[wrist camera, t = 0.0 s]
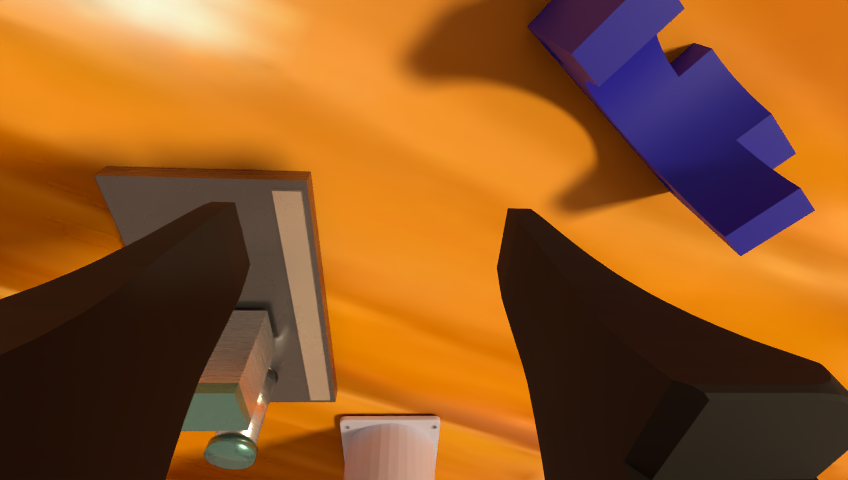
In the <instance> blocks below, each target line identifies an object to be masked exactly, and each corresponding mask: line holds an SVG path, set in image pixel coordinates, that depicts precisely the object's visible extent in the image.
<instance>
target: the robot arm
mask: <svg viewBox="0 0 848 480" xmlns="http://www.w3.org/2000/svg"><path fill="white" fill-rule="evenodd" d="M249 267H250V261H249V257H248V253H247V249H246V245H245V241H244V237H243V233H242V229H241V225H240V221H239V217H238V213H237V209H236V205H235V202H209V203H207V204H204V205H202V206H200V207H198V208H196V209H194V210H192V211H190V212H188V213H187V214H185V215H183V216H181V217H179V218H177V219H176V220H174V221H172V222H170V223H168V224H167V225H165V226H163V227H161V228H159V229H157V230H156V231H154V232H152V233H150V234H148V235H147V236H145V237H143V238H141V239H139V240H137V241H135V242H133V243H131V244H129V245H127V246H125V247H123V248H121V249H119V250H117V251H115V252H114V253H112V254H110V255H108V256H106V257H104V258H102V259H100V260H98V261H95V262H93V263H91V264H89V265H87V266H85V267H82V268H80V269H78V270H76V271H73V272H71V273H68V274H66V275H64V276H61V277H59V278H56V279H54V280H52V281H49V282H47V283H44V284H42V285H39V286H36V287H34V288H31V289H28V290H25V291H22V292H20V293H17V294H14V295H11V296H8V297H6V298H3V299H0V480H165V479H166V476H167V473H168V469H169V466H170V463H171V459H172V456H173V453H174V450H175V447H176V444H177V441H178V438H179V435H180V432H181V429H182V426H183V423H184V420H185V418H186V415H187V412H188V409H189V407H190V404H191V401H192V398H193V396H194V393H195V390H196V388H197V385H198V382H199V380H200V378H201V376H202V373H203V371H204V369H205V367H206V365H207V363H208V361H209V359H210V357H211V355H212V353H213V351H214V349H215V347H216V345H217V343H218V341H219V339H220V337H221V335H222V333H223V331H224V329H225V327H226V325H227V323H228V321H229V319H230V317H231V314H232V312H233V310H234V308H235V306H236V304H237V302H238V300H239V298H240V296H241V293H242V290H243V287H244V284H245V281H246V277H247V274H248V270H249ZM497 272H498V278H499V285H500V291H501V296H502V301H503V304H504V307H505V311H506V314H507V317H508V320H509V324H510V327H511V330H512V333H513V336H514V339H515V343H516V346H517V349H518V352H519V355H520V358H521V362H522V365H523V368H524V372H525V376H526V379H527V383H528V388H529V393H530V398H531V403H532V408H533V413H534V418H535V424H536V429H537V435H538V440H539V446H540V452H541V457H542V464H543V470H544V476H545V480H818V479H817V476H818V475H819V474H821V473H822V472H823V471H824V470H825V469H826V468H828V467H829V466H830V465H831V464H832V463H833V462H835V461H836V460H837V459H838V458H839V457H840V456H842V455H843V454H844V453H845V452H846V451H847V450H848V391H847V390H846V389H845V388H844V387H843V386H842V385H841V384H840V383H839V381H838V380H837V379H836V378H835V377H834V376H833V375H832V374H831V373H830V372H829V371H828V370H827V369H826V368H825V367H824V366H823V365H821V364H820V363H817V362H814V361H812V360H809V359H806V358H803V357H800V356H797V355H794V354H791V353H788V352H785V351H783V350H780V349H777V348H774V347H771V346H768V345H765V344H762V343H759V342H756V341H754V340H751V339H749V338H746V337H744V336H741V335H739V334H736V333H734V332H731V331H729V330H726V329H724V328H721V327H719V326H716V325H714V324H712V323H710V322H707V321H705V320H703V319H700V318H698V317H696V316H694V315H692V314H689V313H687V312H685V311H683V310H681V309H679V308H677V307H675V306H673V305H671V304H669V303H667V302H665V301H663V300H661V299H659V298H657V297H655V296H654V295H652V294H650V293H648V292H646V291H645V290H643V289H641V288H639V287H638V286H636V285H634V284H633V283H631V282H629V281H628V280H626V279H624V278H622V277H621V276H619V275H618V274H616V273H615V272H613V271H612V270H610V269H609V268H607V267H606V266H604V265H603V264H601V263H600V262H599V261H597V260H596V259H594V258H593V257H591V256H590V255H589V254H587V253H586V252H585V251H583V250H582V249H581V248H579V247H578V246H577V245H576V244H574V243H573V242H572V241H570V240H569V239H568V238H567V237H565V236H564V235H563V234H562V233H560V232H559V231H558V230H557V229H556V228H554V227H553V226H552V225H551V224H549V223H548V222H547V221H546V220H545V219H543V218H542V217H541V216H539V215H538V214H537V213H536V212H534V211H533V210H531V209H512V208H508V211H507V216H506V222H505V227H504V233H503V238H502V244H501V249H500V254H499V260H498V265H497ZM340 430H341V438H342V446H343V454H344V462H345V470H344V478H343V480H435V476H434V474H435V465H436V457H437V448H438V439H439V431H440V418H439V417H437V416H344V417H342V418H341V419H340Z"/></svg>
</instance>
